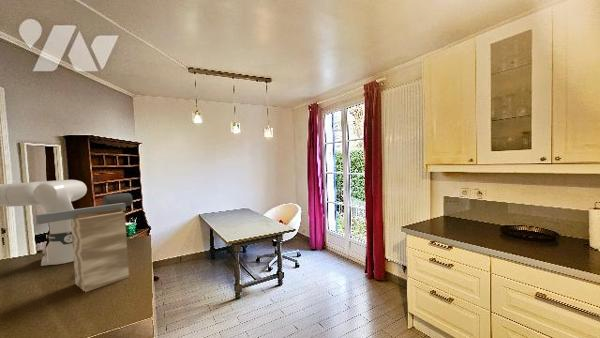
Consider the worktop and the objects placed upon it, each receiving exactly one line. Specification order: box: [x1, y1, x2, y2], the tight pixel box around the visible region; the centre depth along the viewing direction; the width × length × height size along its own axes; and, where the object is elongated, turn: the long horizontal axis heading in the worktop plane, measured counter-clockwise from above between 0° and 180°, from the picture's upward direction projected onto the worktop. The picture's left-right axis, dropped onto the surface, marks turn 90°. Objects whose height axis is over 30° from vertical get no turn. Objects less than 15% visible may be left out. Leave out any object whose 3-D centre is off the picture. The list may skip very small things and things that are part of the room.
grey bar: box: [35, 203, 127, 225], centre depth 99 cm, size 3×26×3 cm, turn 143°
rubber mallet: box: [102, 192, 133, 207], centre depth 143 cm, size 12×8×30 cm, turn 142°
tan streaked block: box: [71, 209, 130, 293], centre depth 103 cm, size 12×14×27 cm
